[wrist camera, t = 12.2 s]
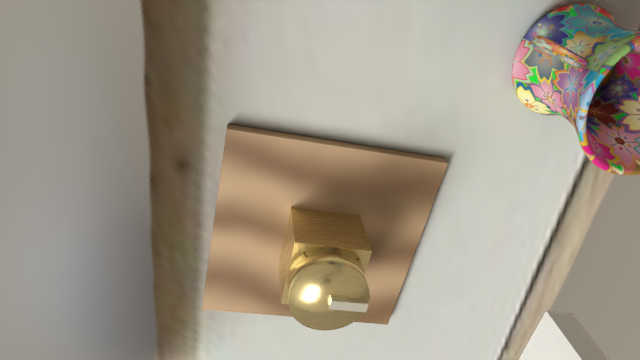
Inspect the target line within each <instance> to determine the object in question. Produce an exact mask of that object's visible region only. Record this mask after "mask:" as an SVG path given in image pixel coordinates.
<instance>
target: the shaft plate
mask: <svg viewBox="0 0 640 360" xmlns="http://www.w3.org/2000/svg"><path fill="white" fill-rule="evenodd" d="M447 165H448V163H447V161H446V160H445V159H444V158H440V157H434V156H427V155H421V154H415V153H408V152H402V151H396V150H389V149H383V148H377V147H370V146H364V145H358V144H351V143H345V142H338V141H332V140H326V139H319V138H313V137H307V136H300V135H294V134H288V133H281V132H275V131H269V130H262V129H256V128H250V127H243V126H237V125H231V124H228V125H227V132H226V139H225V146H224V153H223V161H222V168H221V175H220V182H219V190H218V197H217V204H216V211H215V219H214V226H213V233H212V240H211V248H210V255H209V262H208V269H207V276H206V284H205V291H204V298H203V305H202V309H206V310H218V311H230V312H242V313H254V314H267V315H279V316H291V317H293V315H292V314H291V311H290V309H289V304H281V300H280V282H279V259H280V255H281V250H282V246H283V241H284V237H285V232H286V227H287V223H288V218H289V214H290V209H291V207H296V208H304V209H312V210H320V211H328V212H336V213H344V214H352V215H360V216H361V219H362V222H363V225H364V228H365V231H366V234H367V237H368V240H369V243H370V246H371V249H372V253H371V256H370V259H369V263H368V266H367V269H366V272H365V277H366V280H367V284H368V287H369V291H370V300H369V305H368V308H367V311H366V312H364V313H363V314H362V315H361V316H360V317H359V318H358V319H357V320H356V321H354V322H364V323H376V324H388V322H389V319H390V317H391V314H392V311H393V309H394V306H395V303H396V301H397V298H398V295H399V293H400V290H401V287H402V285H403V282H404V279H405V277H406V274H407V271H408V269H409V266H410V264H411V261H412V258H413V256H414V253H415V250H416V248H417V245H418V242H419V240H420V237H421V234H422V232H423V229H424V226H425V224H426V221H427V218H428V216H429V213H430V210H431V208H432V205H433V202H434V200H435V197H436V194H437V192H438V189H439V186H440V184H441V181H442V178H443V176H444V173H445V170H446V168H447ZM304 253H305V252H303V254H304Z"/></svg>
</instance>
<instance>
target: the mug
mask: <svg viewBox="0 0 640 360" xmlns="http://www.w3.org/2000/svg"><path fill="white" fill-rule="evenodd" d="M512 82H513V87H514V90H515V92H516V94H517V96H518V98H519V99H520V101H521V102H522V103H523V104H524V105H525V106H526V107H527V108H529V109H530V110H532V111H534V112H537V113H540V114H544V115H561V116H563V117H564V118H566V119H567V120H568V121H569V122H570V123H571V124H572V125H573V126H574V128H575V130H576V132H577V134H578V137H579V141H580V144H581V147H582V149H583V151H584V153H585V154H586V156H587V157H588V158H589V159H590V160H591V161H592V162H593V163H594V164H595V165H597V166H598V167H599V168H601V169H603V170H605V171H608V172H611V173H614V174H620V175H638V174H640V31H632V30H627V29H623V28H621V27H619V25H618V23H617V21H616V20H615V19H614V17H613V16H612V15H611V14H610V13H609V12H607V11H606V10H605V9H603V8H601V7H599V6H596V5H592V4H585V3H579V4H571V5H567V6H564V7H561V8H558V9H556V10H554V11H552V12H550V13H549V14H547V15H545V16H544V17H543V18H541V19H540V20H539V21H538V22H537V23H536V24H535V25H534V26H533V27H532V28H531V29H530V30H529V31H528V32H527V34H526V35H525V36H524V38H523V39H522V41H521V43H520V45H519V47H518V49H517V51H516V54H515V57H514V60H513V65H512Z"/></svg>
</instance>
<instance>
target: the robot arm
mask: <svg viewBox="0 0 640 360" xmlns="http://www.w3.org/2000/svg"><path fill="white" fill-rule="evenodd" d="M519 360H609V359H608V358H607V357H606V355H605V354H604V353H603V352H602V350H601V349H600V348H599V346H598V345H597V344H596V343H595V341H594V340H593V339H592V337H591V336H590V335H589V334H588V332H587V331H586V330H585V329H584V327H583V326H582V325H581V324H580V322H579V321H578V320H577V318H576V317H575V316H574V315H573V314H572V313H561V312H551V311H546V313H545V314H544V316H543V318H542V320H541V321H540V323H539V325H538V327H537V329H536V330H535V332H534V334H533V336H532V337H531V339H530V341H529V343H528V344H527V346H526V348H525V350H524V351H523V353H522V355H521V357H520V358H519Z"/></svg>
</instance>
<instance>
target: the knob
mask: <svg viewBox="0 0 640 360" xmlns="http://www.w3.org/2000/svg"><path fill="white" fill-rule="evenodd" d="M303 252H305V253H304V254H303ZM371 253H372V249H371V246H370V243H369V240H368V237H367V234H366V231H365V228H364V225H363V222H362V219H361V216H360V215H352V214H344V213H336V212H328V211H320V210H312V209H304V208H296V207H291V209H290V214H289V218H288V223H287V227H286V232H285V237H284V241H283V246H282V250H281V255H280V259H279V282H280V300H281V304H289V309H290V311H291V314H292V315H293V317H294V318H295V319H296V320H297V321H298V322H299V323H301V324H302V325H304V326H306V327H309V328H312V329H316V330H334V329H338V328H342V327H345V326H347V325H349V324H351V323H353V322H354V321H356V320H357V319H358V318H359V317H360V316H361V315H362V314H363V313H364V312H366V311H367V308H368V305H369V300H370V291H369V287H368V284H367V280H366V277H365V272H366V269H367V266H368V263H369V259H370V256H371Z"/></svg>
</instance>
